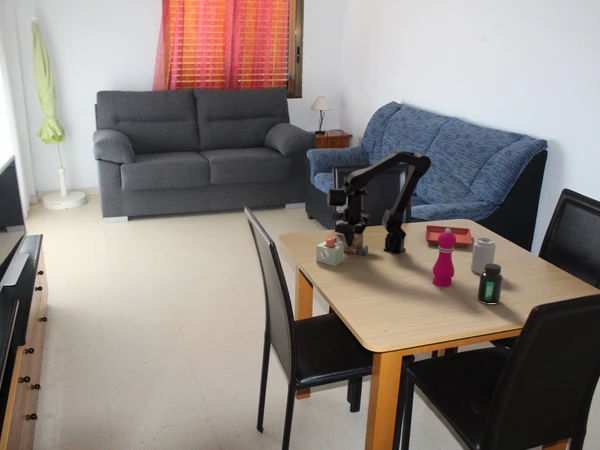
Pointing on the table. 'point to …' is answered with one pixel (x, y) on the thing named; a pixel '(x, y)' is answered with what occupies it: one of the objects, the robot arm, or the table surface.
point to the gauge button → (330, 242)
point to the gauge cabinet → (329, 254)
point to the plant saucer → (460, 233)
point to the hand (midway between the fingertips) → (352, 244)
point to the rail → (360, 250)
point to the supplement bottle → (490, 284)
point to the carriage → (353, 243)
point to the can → (482, 254)
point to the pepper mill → (444, 260)
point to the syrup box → (341, 208)
